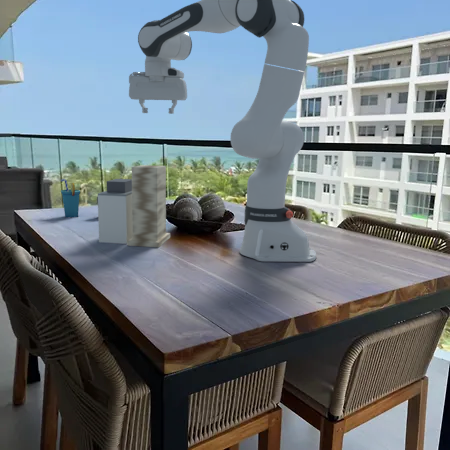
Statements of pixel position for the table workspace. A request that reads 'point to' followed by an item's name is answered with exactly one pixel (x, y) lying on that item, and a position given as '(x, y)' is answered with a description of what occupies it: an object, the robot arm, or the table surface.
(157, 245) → the marble stone pillar
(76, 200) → the cup
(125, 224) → the block
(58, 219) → the table surface
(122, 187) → the dark grey rectangular block
